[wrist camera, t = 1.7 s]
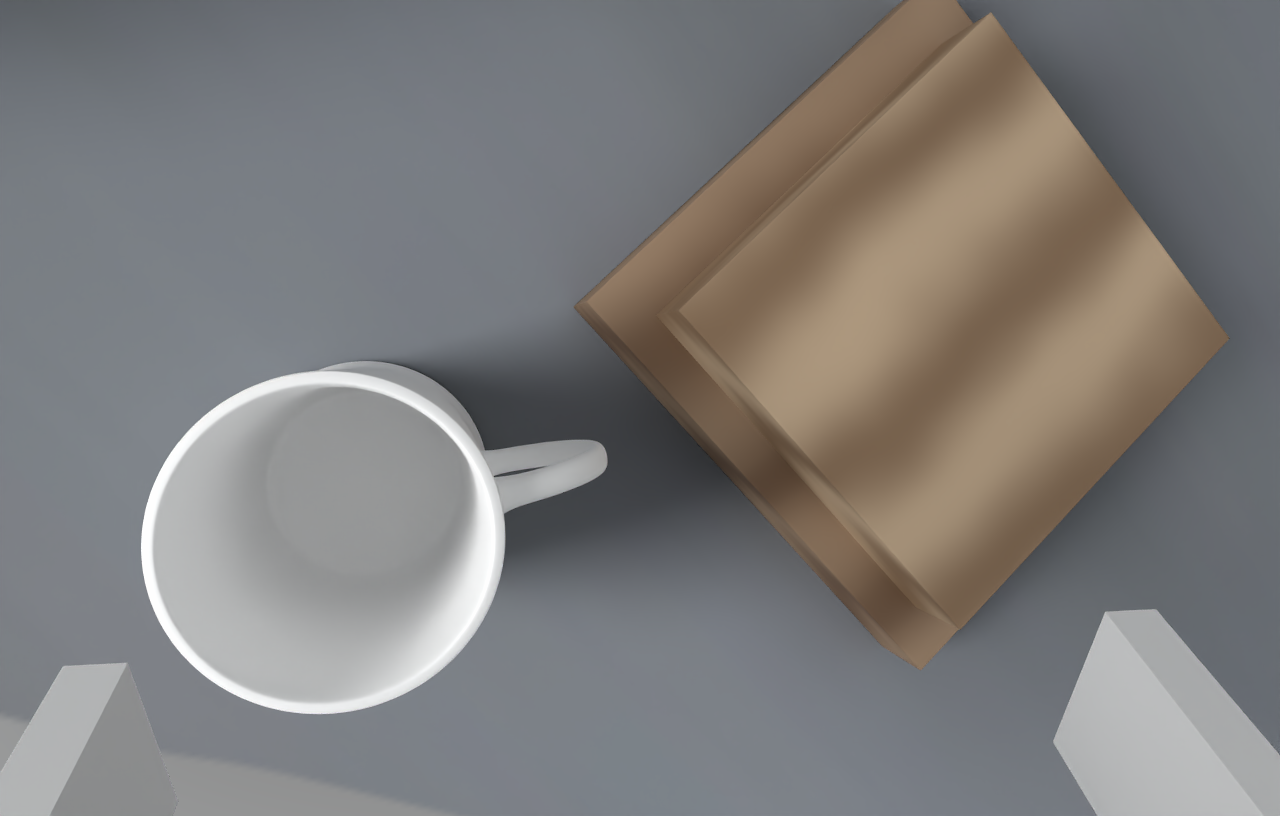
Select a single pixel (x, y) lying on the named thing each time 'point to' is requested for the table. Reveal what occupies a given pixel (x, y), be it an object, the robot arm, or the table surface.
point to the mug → (337, 534)
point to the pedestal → (911, 321)
